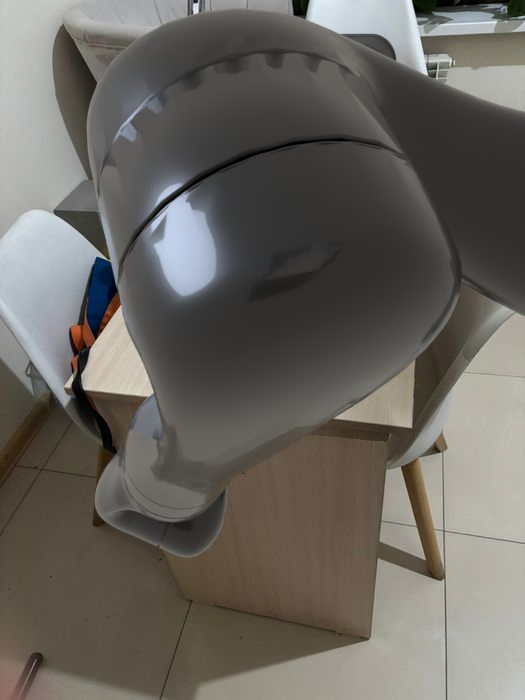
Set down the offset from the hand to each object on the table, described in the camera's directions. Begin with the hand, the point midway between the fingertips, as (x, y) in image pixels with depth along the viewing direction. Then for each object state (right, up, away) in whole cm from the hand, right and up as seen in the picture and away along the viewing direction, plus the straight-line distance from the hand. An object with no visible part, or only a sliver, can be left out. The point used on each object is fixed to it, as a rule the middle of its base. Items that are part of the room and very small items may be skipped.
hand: (274, 266), depth 64 cm
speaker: (+16, +35, +57) cm, 68 cm away
